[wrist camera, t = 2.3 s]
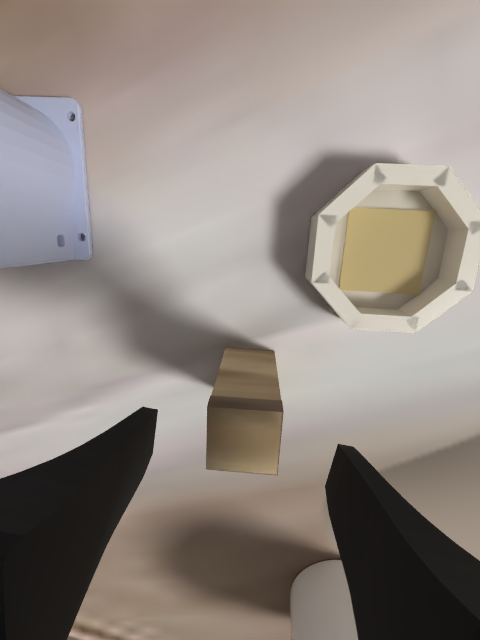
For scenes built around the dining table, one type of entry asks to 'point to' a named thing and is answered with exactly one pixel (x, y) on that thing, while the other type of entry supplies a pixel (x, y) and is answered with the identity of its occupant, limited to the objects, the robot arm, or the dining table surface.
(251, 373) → the brown rectangular block
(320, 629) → the candle holder
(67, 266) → the dining table surface
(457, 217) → the jar dish
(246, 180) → the dining table surface
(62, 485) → the robot arm
